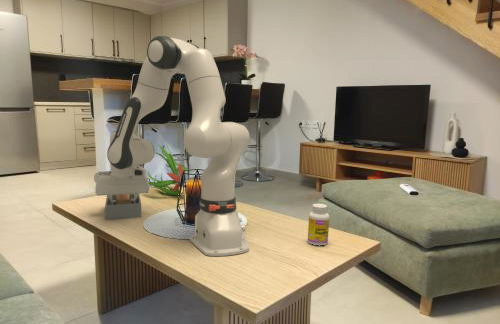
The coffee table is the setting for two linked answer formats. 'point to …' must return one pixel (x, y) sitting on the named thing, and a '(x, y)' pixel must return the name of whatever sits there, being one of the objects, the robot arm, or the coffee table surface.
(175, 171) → the decorative plant
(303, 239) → the coffee table surface
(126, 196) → the terracotta cylinder
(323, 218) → the supplement bottle
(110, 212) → the tote
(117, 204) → the walnut cube
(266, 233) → the coffee table surface
